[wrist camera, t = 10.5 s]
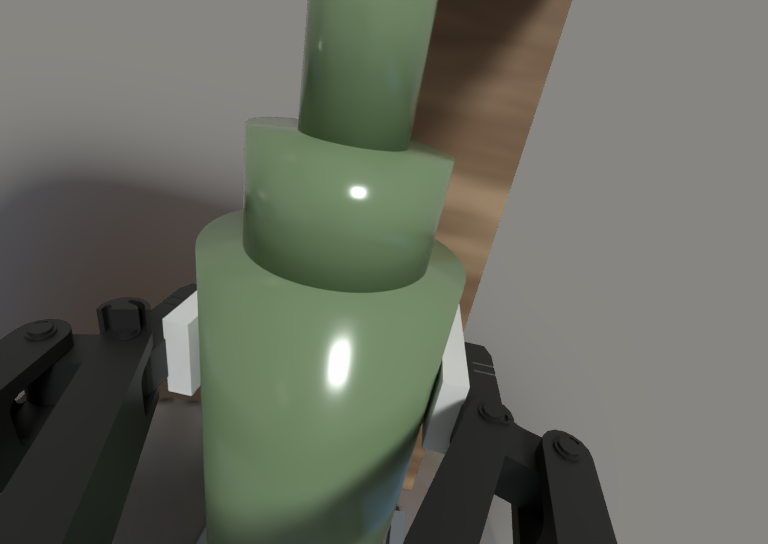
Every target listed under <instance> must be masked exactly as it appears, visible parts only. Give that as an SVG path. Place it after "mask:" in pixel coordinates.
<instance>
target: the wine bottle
mask: <svg viewBox="0 0 768 544" xmlns="http://www.w3.org/2000/svg"><path fill="white" fill-rule="evenodd" d="M437 5H438V0H308V4H307V17H306V29H305V44H304V55H303V69H302V81H301V94H300V106H299V107H300V108H299V119H296V118H282V117H258V118H251V119H248V120H246V121H245V147H244V194H243V210H238V211H235V212H232V213H229V214H226V215H223V216H221V217H219V218H217V219H215V220H214V221H212V222H211V223H209V224H208V225H206V226H205V227H204V229H203V230H202V231H201V232H200V234H199V236H198V237H197V240H196V246H195V250H196V276H197V303H198V330H199V356H200V383H201V410H202V436H203V463H204V490H205V516H206V543H207V544H385V541H386V538H387V534H388V531H389V528H390V525H391V521H392V518H393V515H394V512H395V509H396V505H397V502H398V499H399V496H400V492H401V489H402V486H403V483H404V480H405V476H406V473H407V470H408V467H409V463H410V460H411V457H412V454H413V451H414V447H415V444H416V441H417V438H418V434H419V431H420V428H421V425H422V422H423V418H424V415H425V412H426V409H427V405H428V402H429V399H430V396H431V393H432V389H433V386H434V383H435V380H436V376H437V373H438V370H439V367H440V364H441V360H442V357H443V354H444V351H445V348H446V344H447V341H448V338H449V335H450V331H451V328H452V325H453V322H454V319H455V315H456V312H457V309H458V306H459V302H460V299H461V296H462V293H463V290H464V286H465V283H466V273H465V270H464V267H463V265H462V263H461V262H460V260H459V259H458V257H457V256H456V255H455V254H454V253H453V252H452V251H451V250H450V249H449V248H447V247H446V246H445V245H444V244H442V243H441V242H439V241H438V240H436V239H435V237H436V233H437V229H438V225H439V221H440V218H441V214H442V210H443V206H444V202H445V198H446V194H447V190H448V186H449V182H450V179H451V175H452V171H453V167H454V163H455V158H454V157H453V156H452V155H450V154H449V153H447V152H445V151H443V150H440V149H438V148H435V147H433V146H430V145H427V144H424V143H421V142H417V141H414V140H410V139H411V134H412V129H413V124H414V119H415V114H416V109H417V104H418V99H419V94H420V89H421V84H422V79H423V74H424V70H425V65H426V60H427V55H428V50H429V45H430V40H431V35H432V30H433V25H434V20H435V15H436V10H437Z"/></svg>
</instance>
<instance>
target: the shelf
mask: <svg viewBox="0 0 768 544" xmlns="http://www.w3.org/2000/svg"><path fill="white" fill-rule="evenodd" d="M571 2H572V0H438V5H437V10H436V15H435V20H434V25H433V30H432V35H431V40H430V45H429V50H428V55H427V60H426V65H425V70H424V74H423V79H422V84H421V89H420V94H419V99H418V104H417V109H416V114H415V119H414V124H413V129H412V134H411V139H410V140H414V141H417V142H421V143H424V144H427V145H430V146H433V147H435V148H438V149H440V150H443V151H445V152H447V153H449V154H450V155H452V156H453V157H454V158H455V163H454V167H453V171H452V175H451V179H450V182H449V186H448V190H447V194H446V198H445V202H444V206H443V210H442V214H441V218H440V221H439V225H438V229H437V233H436V237H435V239H436V240H438V241H439V242H441V243H442V244H444V245H445V246H446V247H447V248H449V249H450V250H451V251H452V252H453V253H454V254H455V255H456V256H457V257H458V259H459V260H460V262H461V263H462V265H463V267H464V270H465V273H466V283H465V286H464V290H463V293H462V296H461V299H460V302H459V305H460V313H461V321H462V329H463V331H464V328H465V325H466V322H467V319H468V316H469V313H470V310H471V307H472V304H473V301H474V298H475V295H476V292H477V289H478V285H479V283H480V279H481V276H482V274H483V270H484V267H485V264H486V261H487V258H488V255H489V252H490V249H491V246H492V243H493V240H494V237H495V234H496V231H497V228H498V225H499V222H500V218H501V216H502V212H503V209H504V206H505V203H506V200H507V197H508V194H509V191H510V188H511V185H512V182H513V179H514V176H515V173H516V170H517V167H518V164H519V160H520V158H521V155H522V151H523V148H524V145H525V142H526V139H527V136H528V133H529V130H530V127H531V124H532V121H533V118H534V115H535V112H536V109H537V106H538V103H539V100H540V97H541V93H542V91H543V87H544V84H545V81H546V78H547V75H548V72H549V69H550V66H551V63H552V60H553V57H554V54H555V51H556V48H557V45H558V42H559V39H560V36H561V33H562V30H563V26H564V23H565V20H566V17H567V14H568V11H569V8H570V5H571ZM424 450H425V449H422V425H421V428H420V431H419V434H418V438H417V441H416V444H415V447H414V451H413V454H412V457H411V460H410V463H409V467H408V470H407V473H406V476H405V480H404V483H403V486H402V489H406V490H412V487H413V484H414V481H415V478H416V475H417V472H418V469H419V466H420V463H421V460H422V456H423V453H424Z"/></svg>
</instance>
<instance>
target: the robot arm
mask: <svg viewBox="0 0 768 544" xmlns="http://www.w3.org/2000/svg"><path fill="white" fill-rule="evenodd" d="M97 316H98V321H99V327H100V334H99V335H73V334H72V329H71V325H70V324H68V323H67V322H66V321H62V320H53V319H47V320H39V321H35V322H32V323H28V324H25V325H23V326H21V327H19V328H17V329H16V330H14V331H13V332H11V333H10V334H8V335H7V336H5V337H4V338H3V339H1V340H0V494H1V495H0V544H111V543H112V540H113V537H114V534H115V531H116V528H117V525H118V522H119V519H120V516H121V513H122V510H123V507H124V503H125V500H126V497H127V494H128V491H129V488H130V485H131V482H132V479H133V476H134V473H135V470H136V467H137V463H138V460H139V457H140V454H141V451H142V448H143V445H144V442H145V439H146V436H147V433H148V430H149V427H150V424H151V420H152V417H153V414H154V411H155V408H156V405H157V402H158V399H159V388H158V386H159V385H160V384H161V383H162V382H163V381H164V380H165V379H166V378H167V379H168V390H169V391H171V392H176V393H180V394H185V395H189V396H192V395H193V394H194V392H195V391H196V390H197V389H198V388H199V386H200V385H201V383H200V356H199V330H198V303H197V284H190V285H188V286H185V287H182V288H180V289H178V290H177V291H176V292H174V293H173V294H172V295H170V297H168V298H167V299H166V300H164V301H163V302H162V303H160V304H159V305H157V306H156V307H155V308H154V309H152V310H151V308H150V304H149V303H148V302H147V301H145V300H143V299H140V298H131V297H128V298H119V299H114V300H110V301H108V302H106V303H104V304H102V305H101V306H99V308H97ZM23 390H24V391H25V395H24V396H22V397H21V398H20V399H19V400H17V401H15V400H14V399H15V398H16V397H17V396H18V394H19V393H21V392H22V391H23ZM449 443H450V445H449ZM448 446H449V448H448ZM422 449H426V450H431V451H435V452H440V453H444V454H445V456H444V458H443V460H442V462H441V464H440V466H439V468H438V471H437V473H436V475H435V477H434V479H433V481H432V483H431V485H430V487H429V489H428V492H427V494H426V496H425V498H424V500H423V502H422V504H421V506H420V508H419V510H418V513H417V515H416V517H415V519H414V521H413V523H412V525H411V527H410V529H409V531H408V534H407V536H406V538H405V540H404V542H403V544H479V543H480V540H481V536H482V533H483V530H484V526H485V523H486V519H487V516H488V512H489V509H490V506H491V502H492V499H493V495H494V494H495V495H497V496H498V497H500V498H502V499H504V500H506V501H507V502H509V503H511V509H512V529H513V544H617V541H616V538H615V534H614V531H613V528H612V524H611V520H610V517H609V514H608V510H607V506H606V503H605V500H604V496H603V492H602V489H601V486H600V482H599V479H598V475H597V472H596V468H595V465H594V461H593V458H592V456H591V454H590V452H589V450H588V449H587V448H586V447H585V446H584V444H583V443H582V442H581V441H579V440H578V439H577V438H575V437H574V436H572V435H570V434H568V433H566V432H563V431H558V430H551V431H547V432H546V433H545V434H544V435H543V437H540V436H538V435H535V434H533V433H531V432H529V431H527V430H525V429H523V428H521V427H520V426H518V425H517V424H515V423H514V418H513V416H512V414H511V412H510V411H509V410H508V409H507V408H506V407H505V406H504V405H502V403H501V398H500V393H499V389H498V384H497V380H496V376H495V371H494V368H493V362H492V358H491V355H490V354H489V353H488V351H487V350H486V348H485V347H484V346H480V345H475V344H471V343H467V342H464V338H463V329H462V321H461V313H460V305H459V306H458V309H457V312H456V315H455V319H454V322H453V325H452V328H451V331H450V335H449V338H448V341H447V344H446V348H445V351H444V354H443V357H442V360H441V364H440V367H439V370H438V373H437V376H436V380H435V383H434V386H433V389H432V393H431V396H430V399H429V402H428V405H427V409H426V412H425V415H424V418H423V422H422ZM447 449H448V450H447ZM446 451H447V452H446ZM2 491H3V492H2ZM1 492H2V493H1Z"/></svg>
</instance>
